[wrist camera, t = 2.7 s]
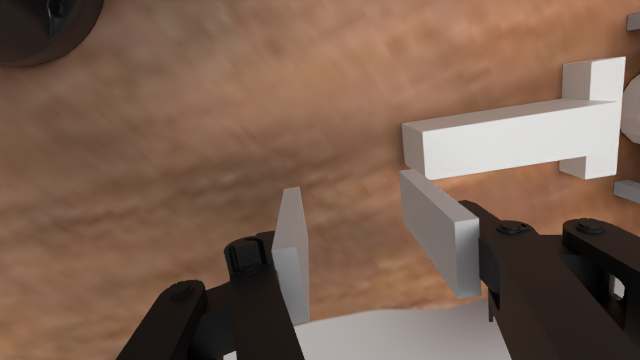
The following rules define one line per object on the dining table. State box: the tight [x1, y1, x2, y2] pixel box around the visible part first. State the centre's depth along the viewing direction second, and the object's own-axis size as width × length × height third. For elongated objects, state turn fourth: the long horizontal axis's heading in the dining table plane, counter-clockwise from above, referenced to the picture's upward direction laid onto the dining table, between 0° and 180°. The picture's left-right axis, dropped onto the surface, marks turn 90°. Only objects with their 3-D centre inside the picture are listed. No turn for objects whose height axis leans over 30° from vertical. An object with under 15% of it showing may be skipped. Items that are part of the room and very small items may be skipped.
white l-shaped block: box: [401, 57, 626, 180], centre depth 27 cm, size 16×9×6 cm, turn 99°
